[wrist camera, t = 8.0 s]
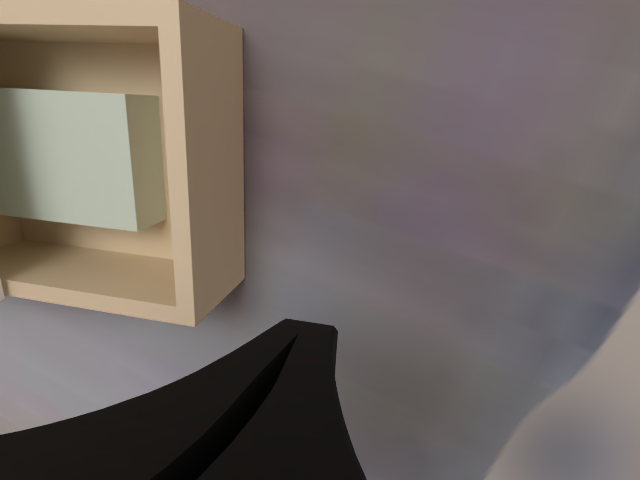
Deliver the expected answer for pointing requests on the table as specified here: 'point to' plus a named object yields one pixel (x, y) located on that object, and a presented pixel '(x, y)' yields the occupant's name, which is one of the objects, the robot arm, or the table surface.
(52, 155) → the mailer box
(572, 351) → the table surface
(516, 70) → the table surface
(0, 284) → the lid
